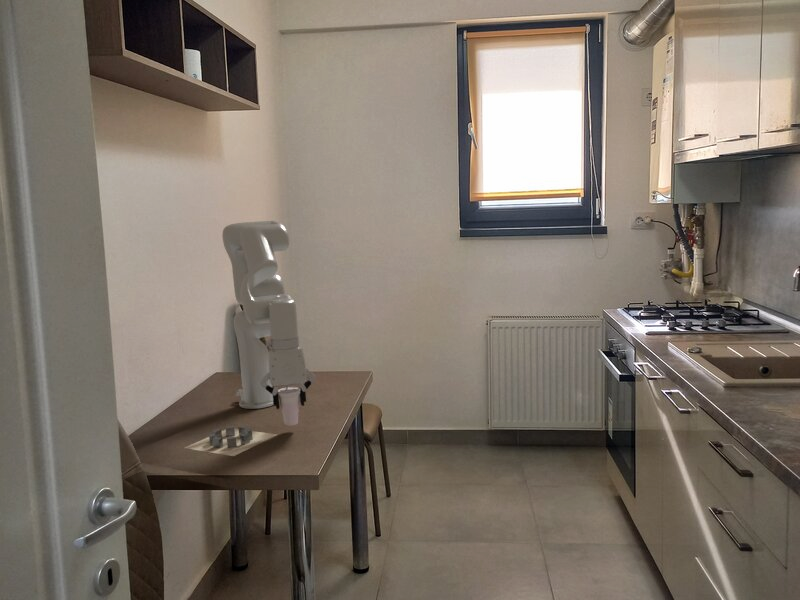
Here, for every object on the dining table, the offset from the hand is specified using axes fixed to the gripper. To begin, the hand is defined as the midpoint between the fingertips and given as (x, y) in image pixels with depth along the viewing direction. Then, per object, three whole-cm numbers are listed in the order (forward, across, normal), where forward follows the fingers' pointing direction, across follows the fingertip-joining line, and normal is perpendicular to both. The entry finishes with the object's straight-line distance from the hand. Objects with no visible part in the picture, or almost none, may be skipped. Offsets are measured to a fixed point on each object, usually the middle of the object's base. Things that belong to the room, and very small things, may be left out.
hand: (290, 405), depth 209 cm
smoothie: (+5, 0, 0) cm, 5 cm away
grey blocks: (+8, -17, -1) cm, 18 cm away
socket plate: (+9, -17, -1) cm, 19 cm away
